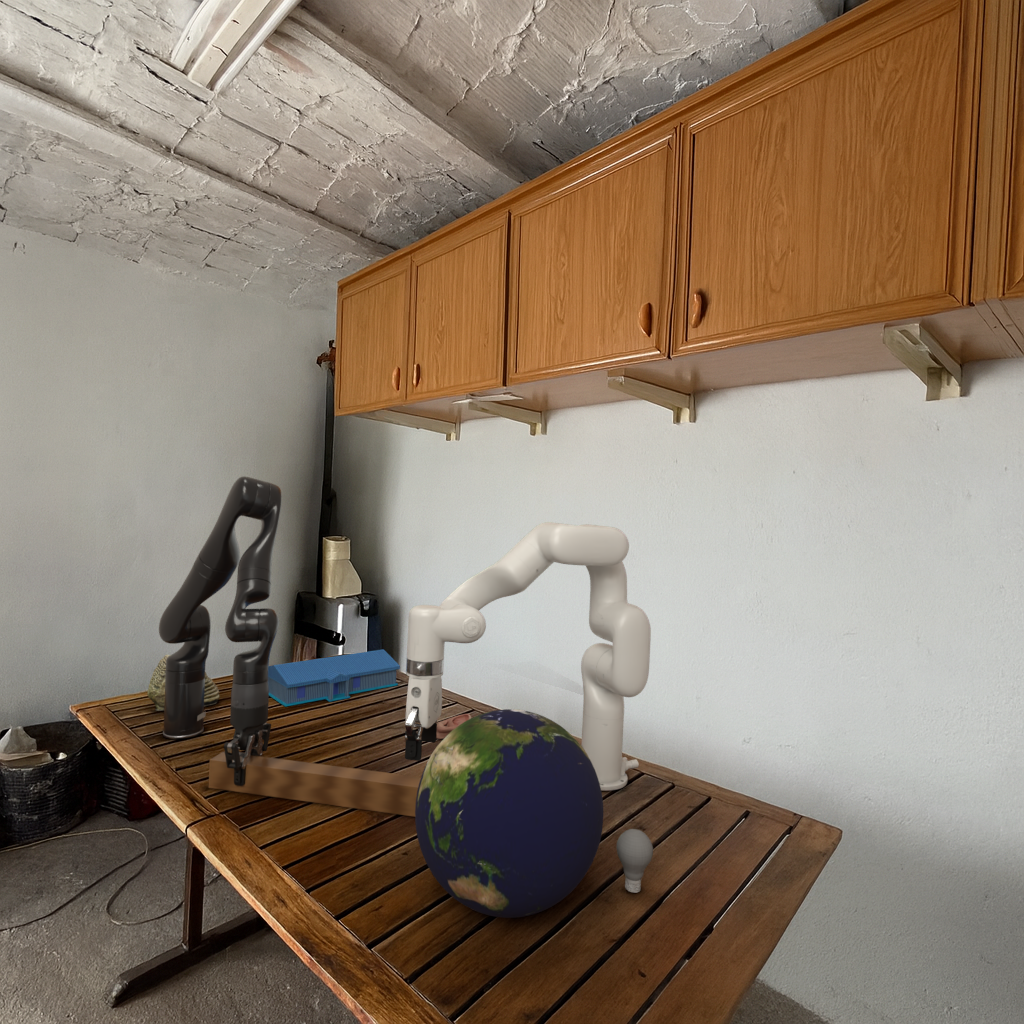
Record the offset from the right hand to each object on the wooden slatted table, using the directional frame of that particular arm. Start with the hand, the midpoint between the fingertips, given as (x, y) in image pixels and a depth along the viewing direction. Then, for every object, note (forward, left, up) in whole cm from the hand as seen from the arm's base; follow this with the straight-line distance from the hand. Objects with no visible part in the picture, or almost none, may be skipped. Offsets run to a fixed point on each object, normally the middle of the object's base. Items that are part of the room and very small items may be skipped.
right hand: (421, 750), depth 129 cm
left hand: (+31, -23, -11) cm, 40 cm away
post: (+16, -11, -13) cm, 23 cm away
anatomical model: (-20, -40, -13) cm, 46 cm away
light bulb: (-25, +38, -13) cm, 48 cm away
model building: (+2, -88, -13) cm, 89 cm away
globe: (-5, +33, -13) cm, 35 cm away
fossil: (+46, -83, -13) cm, 96 cm away
